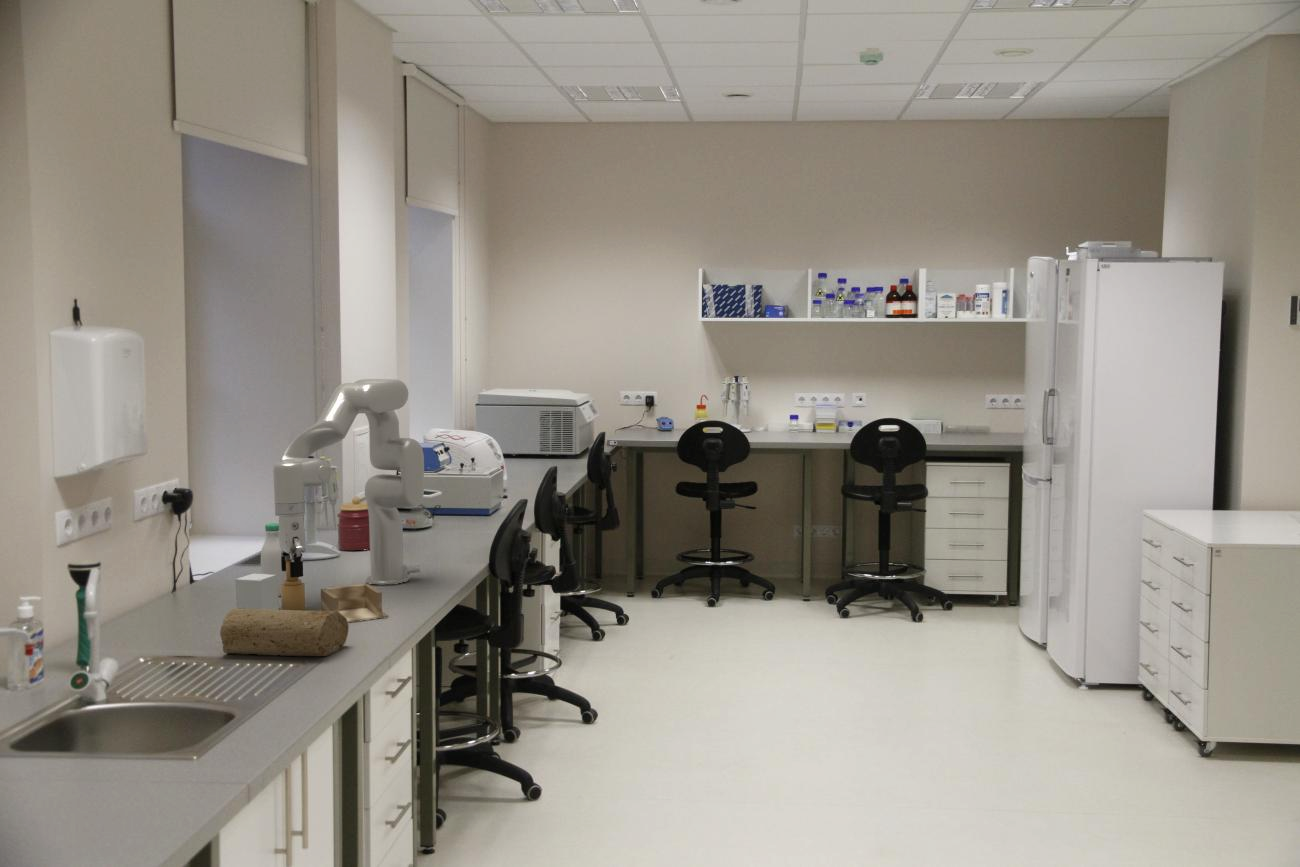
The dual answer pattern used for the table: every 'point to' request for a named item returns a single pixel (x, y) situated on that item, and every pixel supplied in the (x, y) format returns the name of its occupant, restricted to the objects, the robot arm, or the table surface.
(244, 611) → the core sample
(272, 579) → the supplement box
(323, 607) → the u rest
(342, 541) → the canister
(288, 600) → the bottle
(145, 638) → the table surface
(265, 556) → the milk bottle
